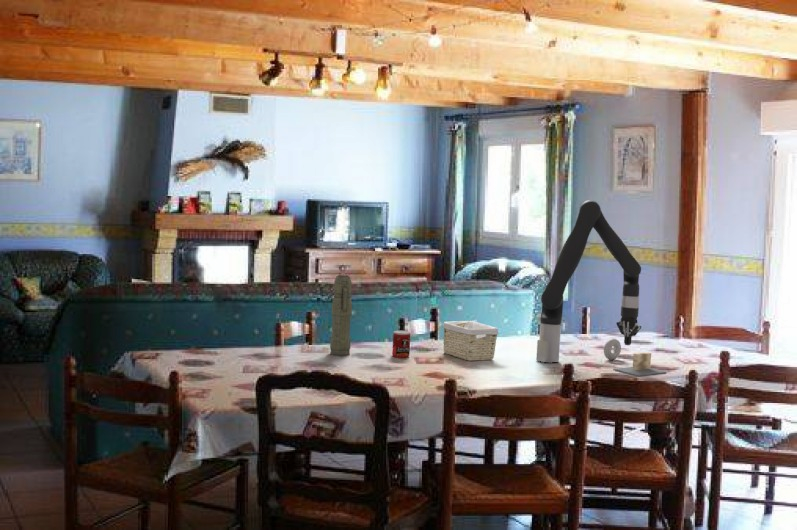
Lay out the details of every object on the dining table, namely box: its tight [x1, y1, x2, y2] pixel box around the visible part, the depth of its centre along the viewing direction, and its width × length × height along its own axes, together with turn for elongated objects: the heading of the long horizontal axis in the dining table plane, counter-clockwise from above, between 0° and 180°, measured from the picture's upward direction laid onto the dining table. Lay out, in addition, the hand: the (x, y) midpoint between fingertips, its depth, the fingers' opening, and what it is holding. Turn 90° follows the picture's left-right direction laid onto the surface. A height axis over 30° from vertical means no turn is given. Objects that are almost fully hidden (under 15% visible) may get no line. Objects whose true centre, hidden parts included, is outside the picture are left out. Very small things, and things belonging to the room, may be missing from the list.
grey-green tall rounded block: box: [329, 274, 353, 357], centre depth 437 cm, size 9×12×35 cm
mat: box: [612, 366, 667, 377], centre depth 430 cm, size 18×14×1 cm
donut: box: [603, 338, 622, 361], centre depth 456 cm, size 10×4×10 cm, turn 125°
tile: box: [632, 351, 652, 370], centre depth 433 cm, size 9×2×7 cm, turn 125°
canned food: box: [391, 330, 411, 359], centre depth 439 cm, size 8×8×11 cm
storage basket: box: [442, 320, 499, 362], centre depth 447 cm, size 24×16×15 cm
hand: (627, 344), depth 437 cm, fingers closed
